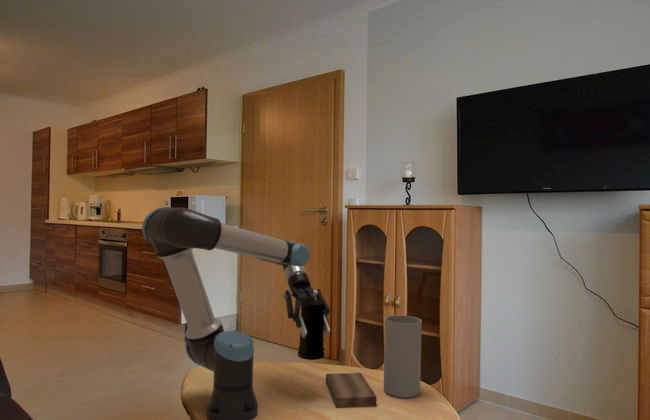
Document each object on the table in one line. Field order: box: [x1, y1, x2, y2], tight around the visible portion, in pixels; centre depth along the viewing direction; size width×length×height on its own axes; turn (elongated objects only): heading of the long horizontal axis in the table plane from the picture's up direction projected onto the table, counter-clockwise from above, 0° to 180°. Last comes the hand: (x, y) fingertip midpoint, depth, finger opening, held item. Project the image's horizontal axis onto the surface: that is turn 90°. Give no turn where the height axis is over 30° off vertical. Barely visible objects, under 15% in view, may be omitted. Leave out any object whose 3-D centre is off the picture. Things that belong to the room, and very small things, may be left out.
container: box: [297, 299, 325, 361], centre depth 153 cm, size 9×9×18 cm
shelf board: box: [325, 372, 377, 409], centre depth 155 cm, size 13×22×3 cm, turn 8°
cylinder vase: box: [383, 314, 423, 399], centre depth 158 cm, size 12×12×25 cm
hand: (316, 333), depth 150 cm, fingers closed on container, 8 cm apart
